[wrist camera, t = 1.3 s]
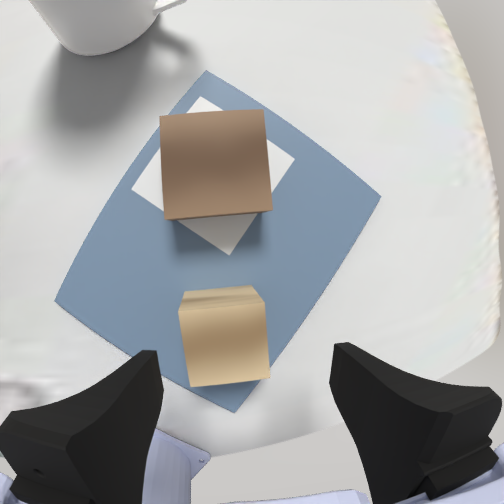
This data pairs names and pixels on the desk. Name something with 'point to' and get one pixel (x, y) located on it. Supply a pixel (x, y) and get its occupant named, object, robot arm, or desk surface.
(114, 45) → the mug
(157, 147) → the mat
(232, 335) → the maple block
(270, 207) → the walnut base
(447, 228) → the desk surface
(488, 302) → the desk surface
